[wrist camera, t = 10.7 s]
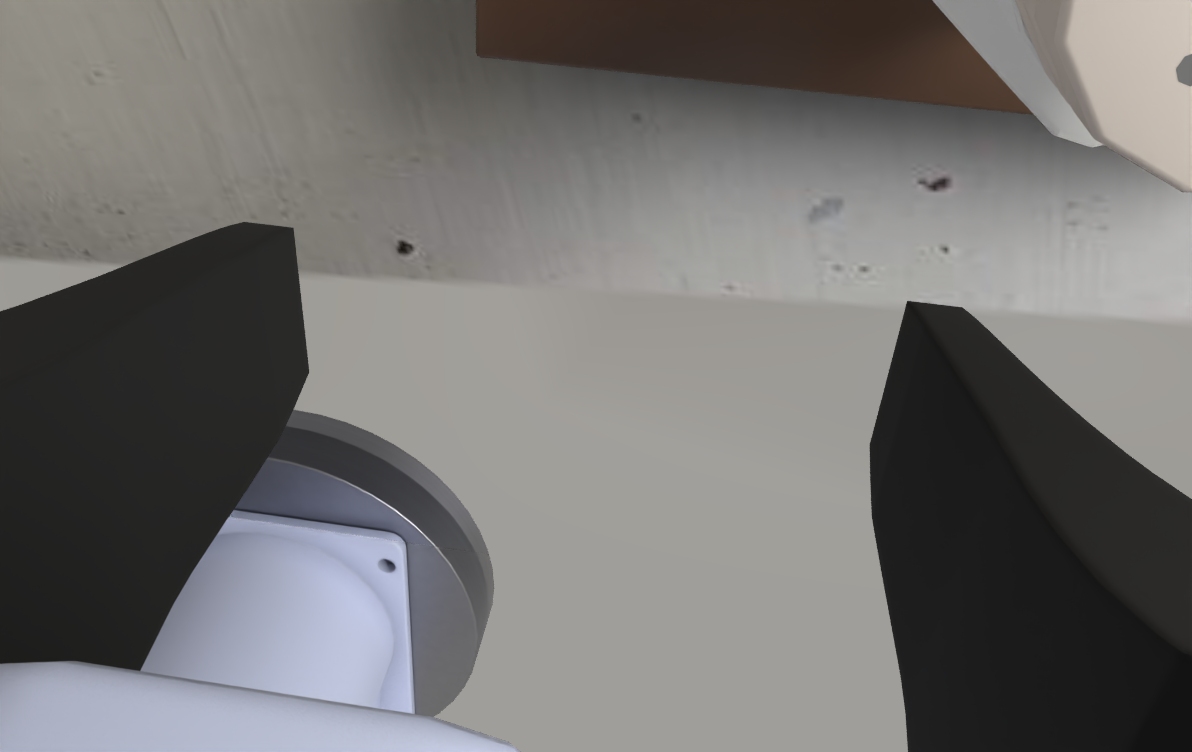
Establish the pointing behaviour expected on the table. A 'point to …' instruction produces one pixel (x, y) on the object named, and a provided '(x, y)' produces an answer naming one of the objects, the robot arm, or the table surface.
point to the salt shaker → (1096, 71)
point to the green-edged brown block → (756, 45)
